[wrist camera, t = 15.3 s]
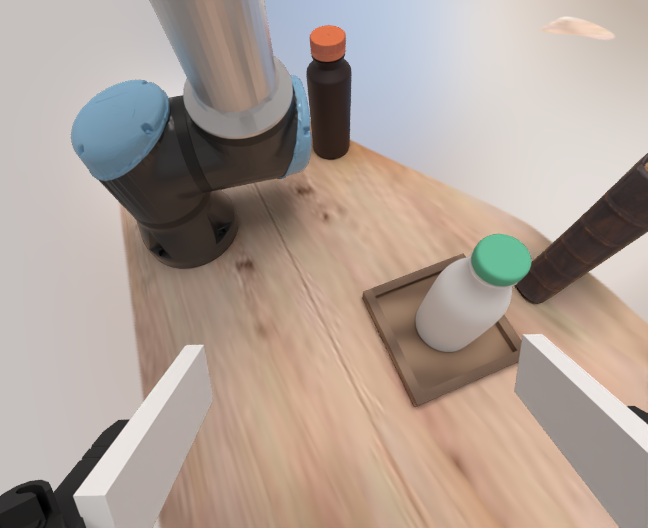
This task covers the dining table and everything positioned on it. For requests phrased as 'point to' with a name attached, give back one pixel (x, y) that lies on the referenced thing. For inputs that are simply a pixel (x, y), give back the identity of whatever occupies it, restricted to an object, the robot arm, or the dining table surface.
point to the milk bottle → (472, 293)
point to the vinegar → (329, 92)
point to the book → (592, 236)
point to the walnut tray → (418, 357)
